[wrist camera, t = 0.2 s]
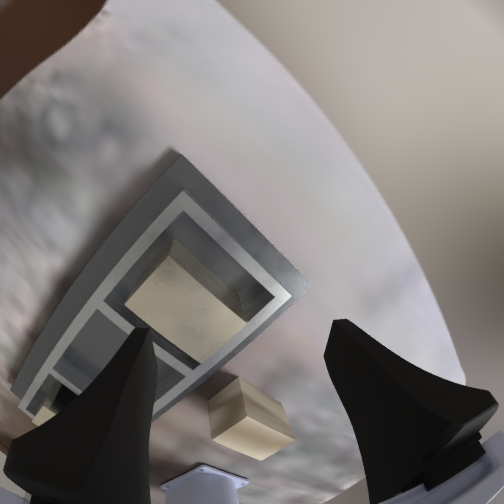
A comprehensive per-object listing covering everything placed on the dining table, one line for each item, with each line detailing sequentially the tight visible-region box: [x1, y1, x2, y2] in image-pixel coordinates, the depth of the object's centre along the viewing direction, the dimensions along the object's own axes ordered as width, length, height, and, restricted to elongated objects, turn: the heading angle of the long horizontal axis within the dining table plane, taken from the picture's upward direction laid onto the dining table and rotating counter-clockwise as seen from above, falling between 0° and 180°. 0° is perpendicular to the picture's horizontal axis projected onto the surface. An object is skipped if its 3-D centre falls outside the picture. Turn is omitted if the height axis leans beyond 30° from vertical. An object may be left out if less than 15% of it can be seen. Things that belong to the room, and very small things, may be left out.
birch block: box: [208, 377, 295, 461], centre depth 23 cm, size 4×6×5 cm, turn 43°
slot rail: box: [10, 155, 312, 426], centre depth 19 cm, size 30×13×5 cm, turn 133°
